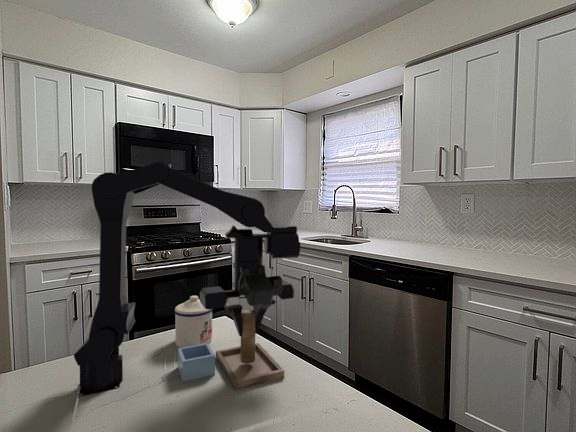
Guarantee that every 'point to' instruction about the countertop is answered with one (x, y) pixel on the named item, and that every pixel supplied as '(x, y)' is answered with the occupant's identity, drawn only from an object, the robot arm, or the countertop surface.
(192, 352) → the holder cup
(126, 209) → the robot arm
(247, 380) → the tray
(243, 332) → the dowel pin
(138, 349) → the countertop surface
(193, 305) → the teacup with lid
